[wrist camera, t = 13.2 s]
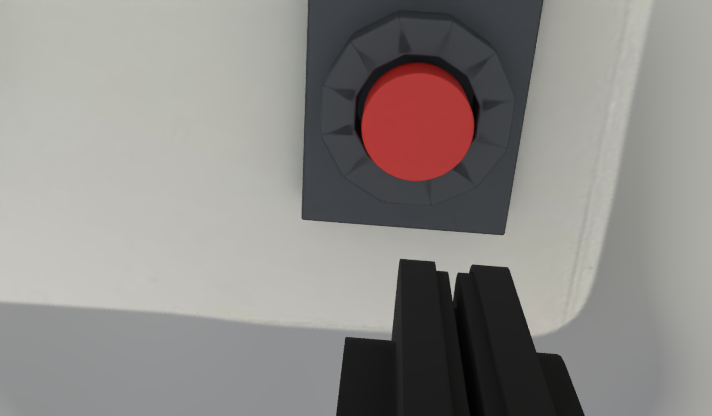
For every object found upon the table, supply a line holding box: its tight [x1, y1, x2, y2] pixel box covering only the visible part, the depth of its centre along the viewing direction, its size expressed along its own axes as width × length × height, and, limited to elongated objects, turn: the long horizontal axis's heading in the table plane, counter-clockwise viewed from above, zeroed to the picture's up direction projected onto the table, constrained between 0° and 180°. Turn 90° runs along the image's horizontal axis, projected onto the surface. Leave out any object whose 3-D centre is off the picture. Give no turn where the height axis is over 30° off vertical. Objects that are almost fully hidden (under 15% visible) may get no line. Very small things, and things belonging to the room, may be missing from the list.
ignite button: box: [361, 62, 474, 181], centre depth 22 cm, size 4×4×2 cm
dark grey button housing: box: [302, 0, 543, 235], centre depth 24 cm, size 10×8×4 cm
